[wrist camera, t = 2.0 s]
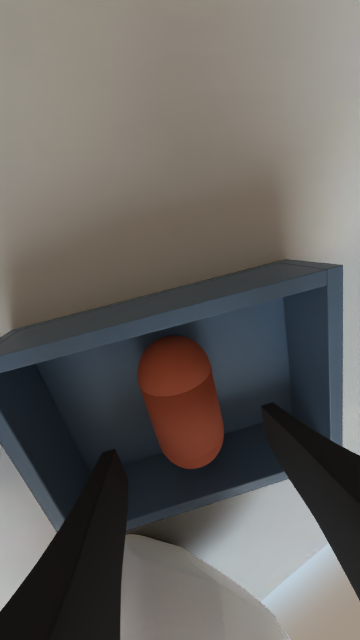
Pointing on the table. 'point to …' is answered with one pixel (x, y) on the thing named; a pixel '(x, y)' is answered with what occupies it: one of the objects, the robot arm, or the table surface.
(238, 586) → the decorative rooster
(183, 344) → the sweet potato
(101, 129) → the table surface
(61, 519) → the low basket
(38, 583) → the robot arm
